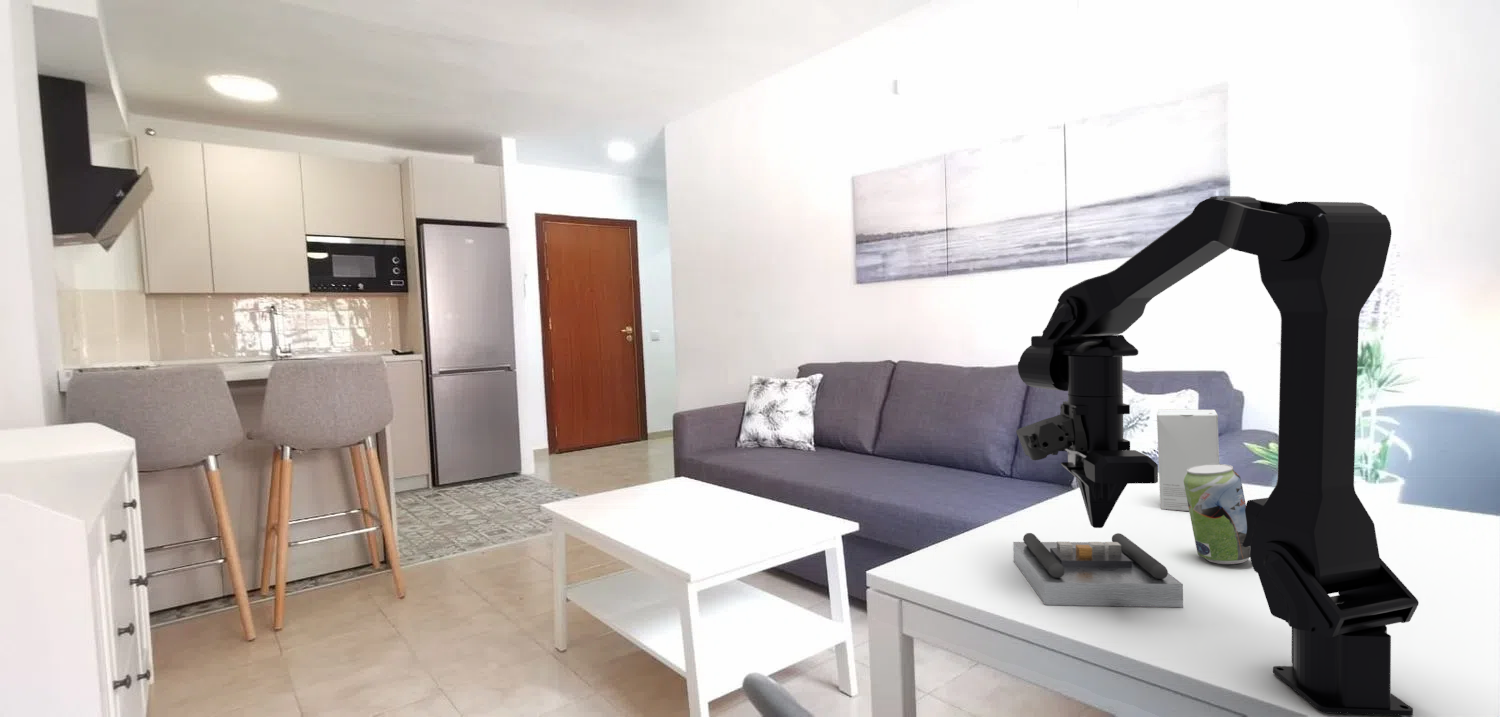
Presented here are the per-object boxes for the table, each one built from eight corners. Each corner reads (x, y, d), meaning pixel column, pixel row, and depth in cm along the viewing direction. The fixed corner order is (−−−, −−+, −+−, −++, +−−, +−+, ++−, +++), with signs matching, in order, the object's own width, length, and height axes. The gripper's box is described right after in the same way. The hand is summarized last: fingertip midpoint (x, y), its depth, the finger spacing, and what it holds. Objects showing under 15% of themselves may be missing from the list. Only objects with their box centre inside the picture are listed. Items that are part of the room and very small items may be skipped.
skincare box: (1219, 505, 111) (1218, 409, 110) (1221, 515, 105) (1220, 414, 104) (1158, 500, 115) (1157, 407, 114) (1157, 509, 109) (1156, 412, 109)
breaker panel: (1183, 607, 73) (1182, 565, 73) (1045, 604, 75) (1044, 564, 75) (1128, 562, 87) (1128, 526, 87) (1013, 560, 89) (1012, 526, 89)
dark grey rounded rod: (1170, 581, 74) (1170, 567, 74) (1154, 581, 74) (1154, 566, 74) (1123, 544, 86) (1123, 531, 86) (1109, 544, 86) (1109, 531, 86)
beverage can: (1265, 570, 83) (1264, 471, 82) (1197, 568, 84) (1196, 470, 83) (1239, 552, 89) (1238, 460, 88) (1176, 551, 90) (1175, 460, 90)
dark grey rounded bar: (1066, 580, 75) (1066, 565, 75) (1051, 580, 75) (1051, 565, 75) (1035, 543, 88) (1034, 531, 88) (1021, 543, 88) (1021, 531, 88)
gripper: (1004, 388, 90) (1006, 505, 91) (1045, 405, 72) (1047, 552, 72) (1094, 386, 89) (1096, 505, 89) (1159, 403, 70) (1161, 553, 71)
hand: (1096, 526), depth 81 cm, fingers closed
